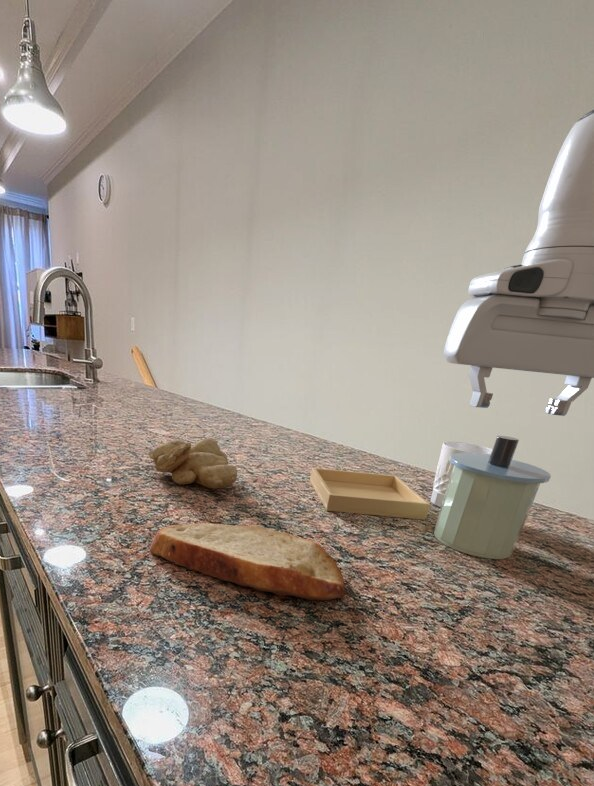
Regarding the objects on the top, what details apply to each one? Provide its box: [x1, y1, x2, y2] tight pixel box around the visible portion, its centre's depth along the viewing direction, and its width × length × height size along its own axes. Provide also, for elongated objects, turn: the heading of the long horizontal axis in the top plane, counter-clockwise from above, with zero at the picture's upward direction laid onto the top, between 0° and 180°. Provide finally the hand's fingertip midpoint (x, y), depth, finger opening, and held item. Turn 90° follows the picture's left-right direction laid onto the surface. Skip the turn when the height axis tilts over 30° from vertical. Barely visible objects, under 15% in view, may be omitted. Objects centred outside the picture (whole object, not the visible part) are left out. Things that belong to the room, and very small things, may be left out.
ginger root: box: [148, 438, 238, 490], centre depth 75 cm, size 16×16×8 cm
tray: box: [309, 467, 431, 521], centre depth 74 cm, size 15×14×3 cm
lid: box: [449, 435, 552, 484], centre depth 57 cm, size 11×11×5 cm
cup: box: [433, 465, 541, 560], centre depth 59 cm, size 10×10×10 cm
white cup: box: [430, 441, 493, 508], centre depth 73 cm, size 8×8×10 cm
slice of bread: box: [149, 522, 347, 601], centre depth 48 cm, size 18×18×4 cm
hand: (516, 410), depth 54 cm, fingers open, 8 cm apart
